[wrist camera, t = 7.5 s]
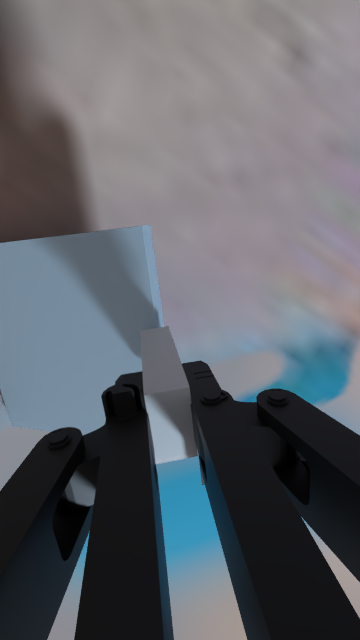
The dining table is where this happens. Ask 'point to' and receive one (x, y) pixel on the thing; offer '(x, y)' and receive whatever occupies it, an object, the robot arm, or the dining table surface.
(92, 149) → the dining table surface
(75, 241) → the pale blue square panel
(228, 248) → the dining table surface
